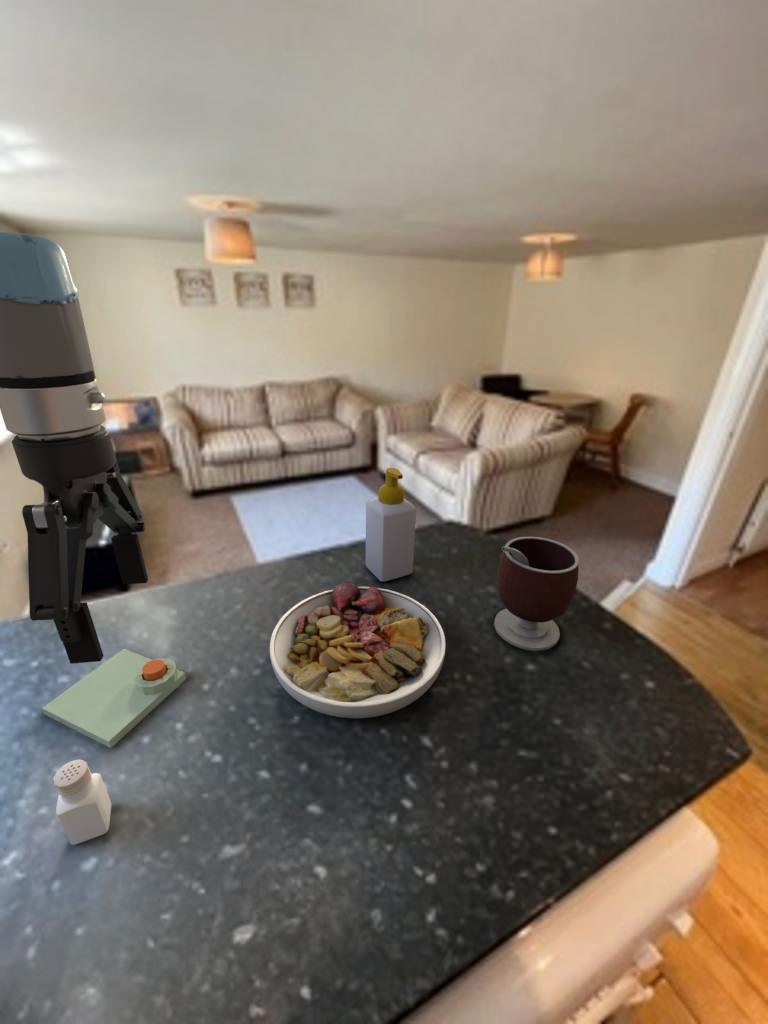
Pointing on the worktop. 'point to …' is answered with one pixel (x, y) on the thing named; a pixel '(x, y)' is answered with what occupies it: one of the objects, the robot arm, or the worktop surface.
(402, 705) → the bowl
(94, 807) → the pepper shaker
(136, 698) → the scale
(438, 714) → the worktop surface
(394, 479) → the soap bottle
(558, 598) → the mate gourd
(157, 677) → the button
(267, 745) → the worktop surface
